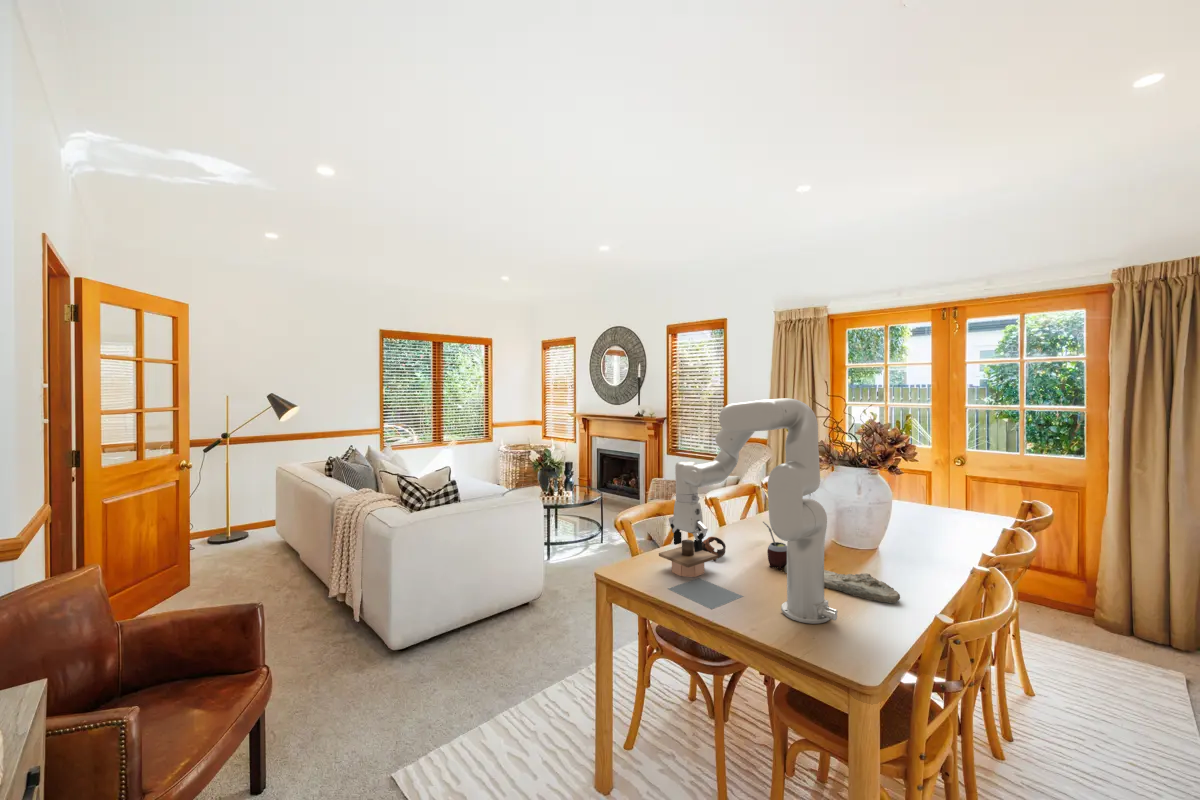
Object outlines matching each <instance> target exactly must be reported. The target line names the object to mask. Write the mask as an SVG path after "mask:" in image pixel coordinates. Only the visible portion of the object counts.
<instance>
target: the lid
mask: <svg viewBox="0 0 1200 800" xmlns="http://www.w3.org/2000/svg"><path fill="white" fill-rule="evenodd" d="M658 556H659V557H661V558H663V559H666V560H667V561H670V562H672V561H673V562H675V563H678V564H680V565H683V566H685V567H688V568H689V567H692V566H695V565H698V564H701V563H704V564H705V563H707V562H711V561H713V560H714V559H719V558H718V555H715V554H712V553H710V552H707V551H704V550H702V551H699V552H695V551H694V540H692V539H683V540H682V543H681V546H679V547H675V548H672V549H668V550H666V551H662V552H661V551H660V552H659V553H658Z"/></svg>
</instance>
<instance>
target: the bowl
mask: <svg viewBox="0 0 1200 800" xmlns="http://www.w3.org/2000/svg"><path fill="white" fill-rule="evenodd" d="M671 573H672V574H675V575H677V576H680V577H689V578H691V577H694V578H696V577H698V576H701V575H705V562H704V563H701V564H698V565H695V566H692V567H689V568H688V567H685V566H683V565H680V564H678V563H675V562H673V561H671Z"/></svg>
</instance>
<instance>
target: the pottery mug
mask: <svg viewBox="0 0 1200 800" xmlns="http://www.w3.org/2000/svg"><path fill="white" fill-rule="evenodd" d="M714 541H716V544H719V545H722V548H720V549H717V550H716V551H715V547H713V546H712V545H711V544H710V543H713V542H714ZM726 548H727V546H726V544H725V542H724V541H723V540H722V539H720V538H719V537H716V536H708V537H707V538H706V539H704V540H702V550H704V551H707V552H709V553H710V552H711V553H712V554H715V555H718V558H717V559H719V558H722V557H723V556H725V554H726ZM717 559H714V560H712V561H713V562H715V561H716V560H717Z"/></svg>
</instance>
